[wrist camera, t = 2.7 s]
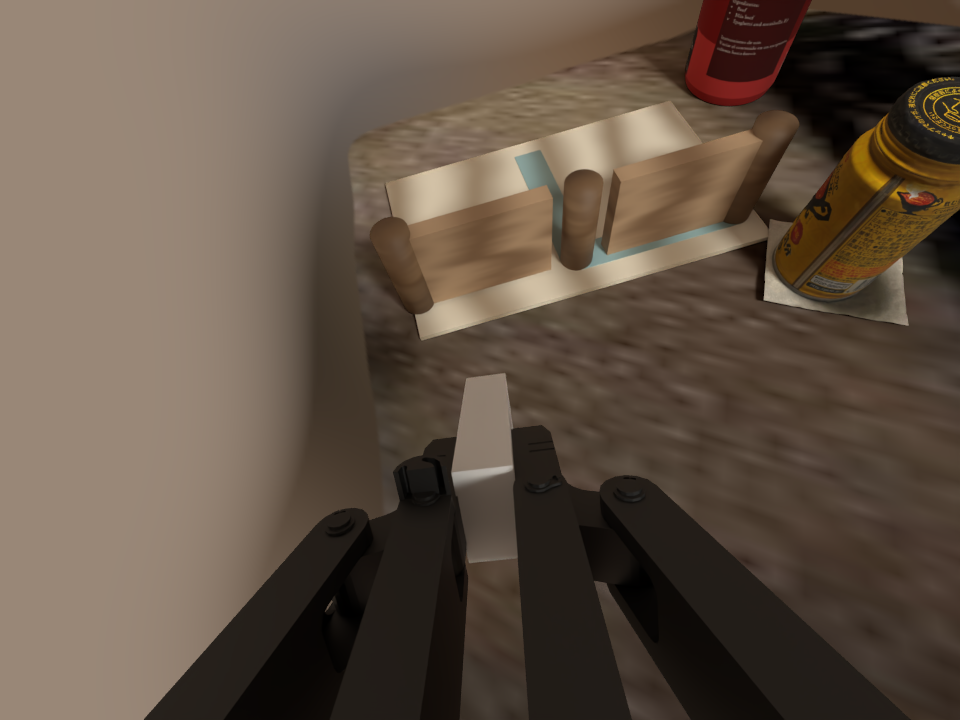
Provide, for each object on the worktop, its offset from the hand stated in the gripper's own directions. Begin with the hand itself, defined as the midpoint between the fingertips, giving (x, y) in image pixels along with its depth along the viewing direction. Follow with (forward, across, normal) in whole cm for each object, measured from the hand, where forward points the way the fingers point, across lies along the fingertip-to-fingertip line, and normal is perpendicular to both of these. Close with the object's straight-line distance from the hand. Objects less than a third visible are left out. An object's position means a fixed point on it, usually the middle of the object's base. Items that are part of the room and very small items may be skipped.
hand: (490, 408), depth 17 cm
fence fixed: (+20, -13, -4) cm, 24 cm away
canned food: (+32, -24, -15) cm, 43 cm away
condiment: (+16, -24, 0) cm, 29 cm away
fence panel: (+18, +1, -2) cm, 18 cm away
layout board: (+23, -6, -7) cm, 25 cm away
